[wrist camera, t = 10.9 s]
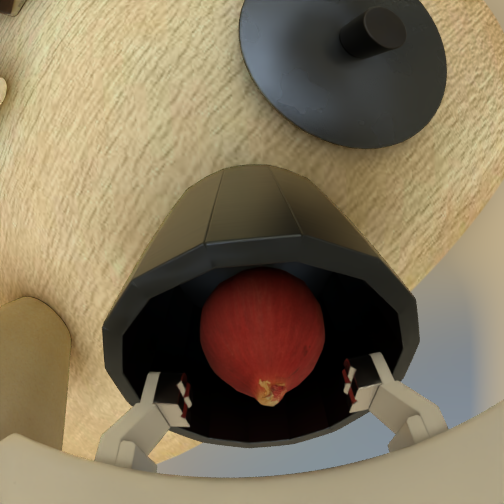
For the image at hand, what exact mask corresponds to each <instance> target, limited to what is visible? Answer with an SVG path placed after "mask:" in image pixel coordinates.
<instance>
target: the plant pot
mask: <svg viewBox="0 0 504 504" xmlns="http://www.w3.org/2000/svg"><path fill="white" fill-rule="evenodd" d="M70 353H71V337H70V333H69V331H68V329H67V327H66V325H65V324H64V322H63V321H62V320H61V318H60V317H59V316H58V315H57V314H56V313H55V312H54V311H53V310H52V309H51V308H50V307H49V306H48V305H46V304H45V303H43V302H41V301H40V300H38V299H35V298H32V297H22V298H19V299H17V300H14V301H12V302H9V303H7V304H5V305H3V306H1V307H0V441H1V440H3V439H4V438H6V437H7V436H9V435H11V434H13V433H17V434H20V435H23V436H25V437H27V438H29V439H32V440H34V441H37V442H39V443H42V444H44V445H47V446H49V447H52V448H55V449H58V450H61V451H62V444H63V434H64V424H65V413H66V402H67V391H68V379H69V368H70Z"/></svg>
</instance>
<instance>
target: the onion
mask: <svg viewBox="0 0 504 504" xmlns="http://www.w3.org/2000/svg"><path fill="white" fill-rule="evenodd" d="M200 342H201V346H202V349H203V352H204V354H205V356H206V358H207V361H208V363H209V365H210V367H211V368H212V370H213V371H214V372H215V373H216V374H217V375H218V376H219V377H220V378H221V379H222V380H224V381H225V382H226V383H227V384H229V385H230V386H232V387H233V388H234V389H235V390H237V391H239V392H241V393H243V394H246V395H248V396H251V397H254V398H256V400H257V401H258V402H259V403H260V404H262V405H265V406H275V405H276V404H278V403H279V402H280V401H281V399H282V398H283V396H284V395H285V393H286V392H288V391H290V390H291V389H293V388H295V387H296V386H298V385H299V384H300V383H301V382H302V381H303V380H304V379H305V378H306V377H307V376H308V375H309V374H310V373H311V371H312V370H313V369H314V367H315V365H316V363H317V361H318V358H319V356H320V354H321V352H322V349H323V346H324V342H325V328H324V320H323V314H322V310H321V306H320V304H319V302H318V301H317V299H316V298H315V296H314V295H313V293H312V292H311V291H310V289H309V288H308V286H307V285H306V283H305V282H304V281H303V280H301V279H299V278H297V277H295V276H294V275H292V274H290V273H288V272H287V271H284V270H281V269H276V268H269V267H263V266H261V267H257V268H252V269H247V270H243V271H241V272H239V273H237V274H236V275H234V276H232V277H230V278H228V279H227V280H225V281H223V282H221V283H219V285H218V286H217V287H216V288H215V289H214V291H213V292H212V293H211V294H210V296H209V297H208V298H207V300H206V302H205V304H204V306H203V308H202V312H201V321H200Z"/></svg>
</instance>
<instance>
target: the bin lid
mask: <svg viewBox="0 0 504 504" xmlns="http://www.w3.org/2000/svg"><path fill="white" fill-rule="evenodd" d="M239 42H240V48H241V53H242V56H243V60H244V63H245V66H246V68H247V70H248V72H249V74H250V76H251V78H252V80H253V82H254V83H255V85H256V86H257V88H258V90H259V91H260V93H261V94H262V95H263V96H264V97H265V99H266V100H267V101H268V102H269V103H270V105H272V106H273V107H274V108H275V109H276V110H277V111H278V112H279V113H280V114H281V115H282V116H283V117H285V118H286V119H287V120H289V121H290V122H291V123H292V124H294V125H295V126H297V127H299V128H300V129H302V130H303V131H305V132H307V133H309V134H311V135H313V136H315V137H317V138H319V139H322V140H325V141H328V142H331V143H334V144H336V145H341V146H346V147H350V148H361V149H373V148H382V147H388V146H392V145H395V144H398V143H401V142H403V141H405V140H407V139H409V138H411V137H412V136H414V135H415V134H416V133H418V132H419V131H421V130H422V129H423V128H424V127H425V126H426V125H427V124H428V123H429V121H430V120H431V119H432V117H433V116H434V115H435V113H436V111H437V109H438V107H439V106H440V103H441V101H442V98H443V95H444V91H445V86H446V78H447V64H446V56H445V50H444V46H443V43H442V40H441V37H440V34H439V32H438V29H437V27H436V25H435V23H434V21H433V20H432V18H431V16H430V15H429V13H428V12H427V10H426V9H425V7H424V6H423V5H422V3H421V2H420V1H419V0H244V3H243V6H242V9H241V13H240V19H239Z"/></svg>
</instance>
